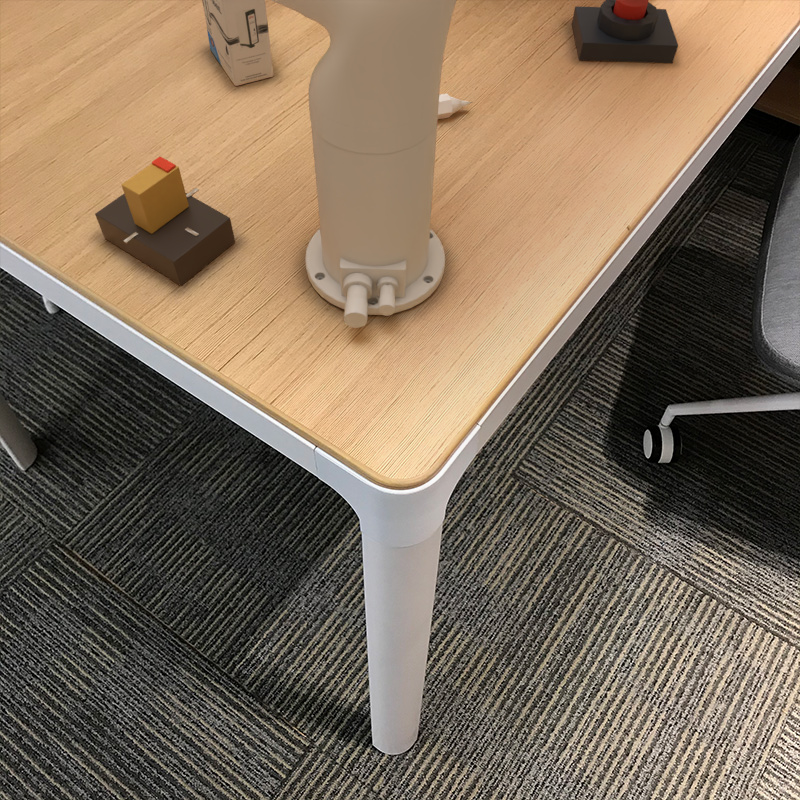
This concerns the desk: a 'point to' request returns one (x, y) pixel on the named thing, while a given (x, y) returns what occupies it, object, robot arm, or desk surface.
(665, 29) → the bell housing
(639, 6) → the bell button
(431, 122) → the robot arm
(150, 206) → the lock knob
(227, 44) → the ink box
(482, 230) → the desk surface
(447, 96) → the marker
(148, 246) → the plate
